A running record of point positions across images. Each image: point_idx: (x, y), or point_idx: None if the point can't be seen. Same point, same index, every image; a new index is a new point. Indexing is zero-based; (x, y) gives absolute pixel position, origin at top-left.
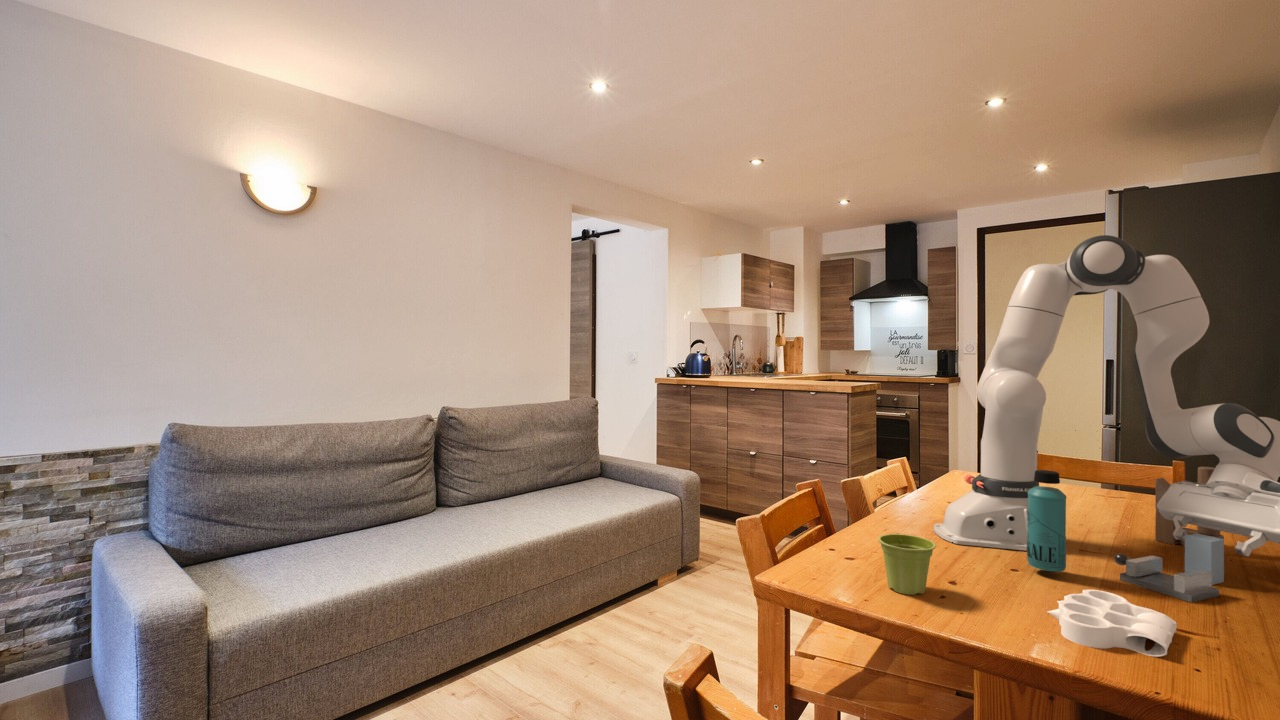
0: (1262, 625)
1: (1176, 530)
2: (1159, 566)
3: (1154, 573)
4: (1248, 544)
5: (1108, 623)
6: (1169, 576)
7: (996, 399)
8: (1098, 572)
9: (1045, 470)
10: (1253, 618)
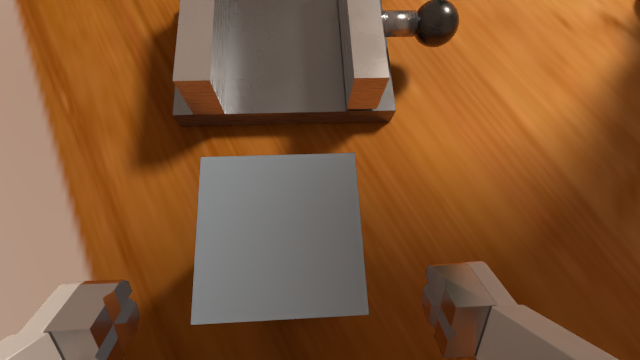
0: (31, 5)
1: (490, 283)
2: (349, 83)
3: None
4: (24, 335)
5: None
6: (311, 93)
7: None
8: None
9: None
10: (59, 33)
